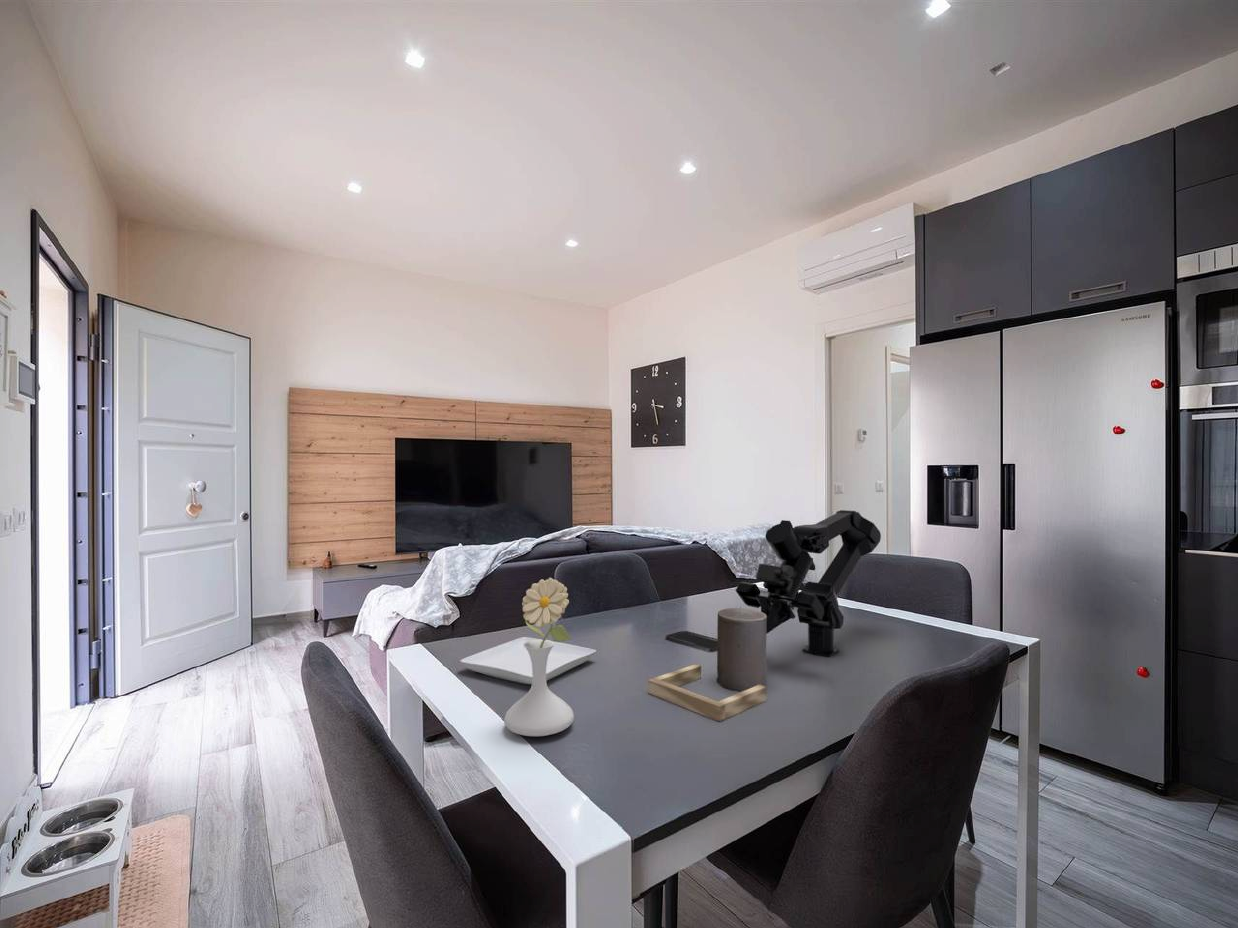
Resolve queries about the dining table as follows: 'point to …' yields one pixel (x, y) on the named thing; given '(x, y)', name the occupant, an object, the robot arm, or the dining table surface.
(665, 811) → the dining table surface
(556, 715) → the flower in vase
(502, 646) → the salad plate
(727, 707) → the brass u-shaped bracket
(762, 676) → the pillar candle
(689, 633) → the phone
